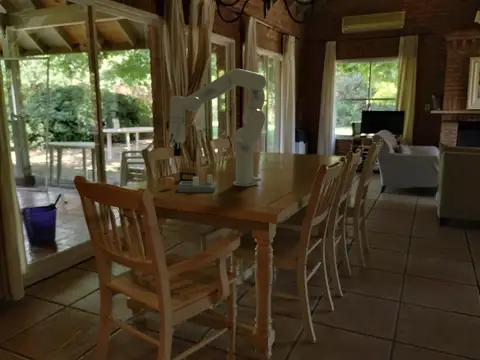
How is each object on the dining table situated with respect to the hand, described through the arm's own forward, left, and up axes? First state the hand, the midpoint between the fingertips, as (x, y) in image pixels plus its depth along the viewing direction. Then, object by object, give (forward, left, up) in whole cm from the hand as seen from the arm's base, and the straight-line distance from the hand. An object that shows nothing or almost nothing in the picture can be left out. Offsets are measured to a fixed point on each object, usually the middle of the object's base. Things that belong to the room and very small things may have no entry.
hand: (177, 155), depth 211 cm
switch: (-10, +5, -15) cm, 19 cm away
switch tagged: (-17, -1, -15) cm, 23 cm away
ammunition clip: (-2, -22, -18) cm, 29 cm away
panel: (-11, +2, -18) cm, 21 cm away
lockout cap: (+4, 0, -18) cm, 18 cm away
